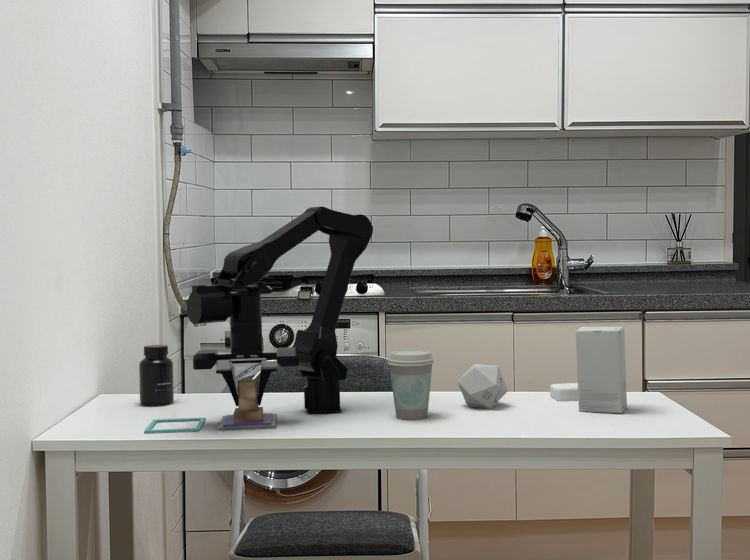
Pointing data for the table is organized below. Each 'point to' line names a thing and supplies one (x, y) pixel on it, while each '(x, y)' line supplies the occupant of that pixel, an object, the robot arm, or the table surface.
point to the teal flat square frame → (198, 428)
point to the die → (482, 386)
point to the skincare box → (601, 369)
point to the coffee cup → (411, 382)
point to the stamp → (248, 402)
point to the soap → (564, 392)
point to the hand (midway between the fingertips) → (248, 405)
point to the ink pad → (248, 423)
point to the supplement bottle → (156, 376)
